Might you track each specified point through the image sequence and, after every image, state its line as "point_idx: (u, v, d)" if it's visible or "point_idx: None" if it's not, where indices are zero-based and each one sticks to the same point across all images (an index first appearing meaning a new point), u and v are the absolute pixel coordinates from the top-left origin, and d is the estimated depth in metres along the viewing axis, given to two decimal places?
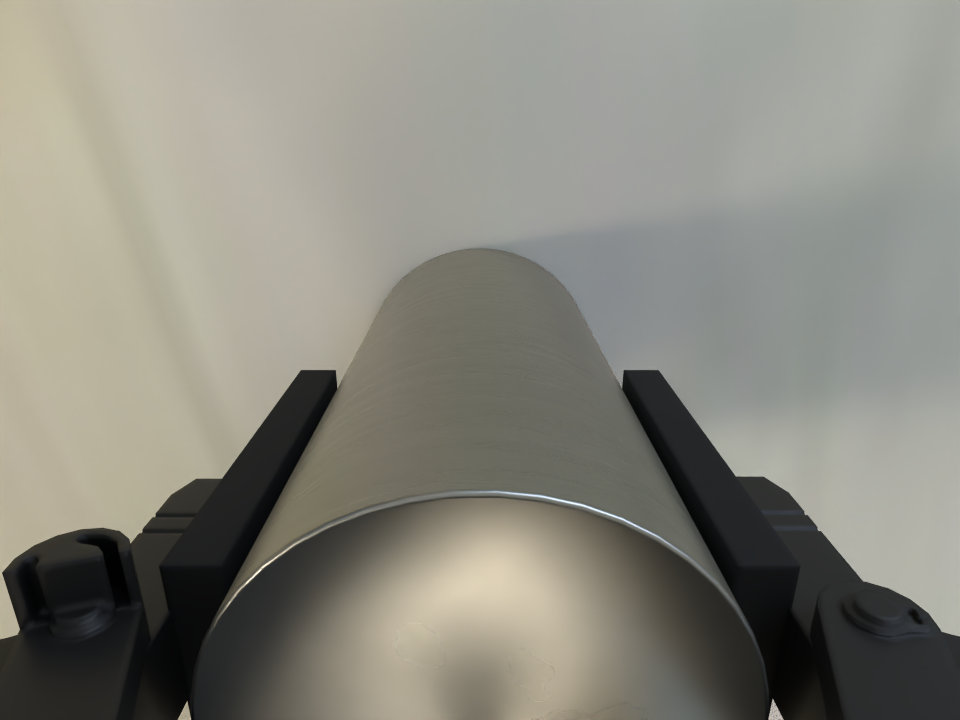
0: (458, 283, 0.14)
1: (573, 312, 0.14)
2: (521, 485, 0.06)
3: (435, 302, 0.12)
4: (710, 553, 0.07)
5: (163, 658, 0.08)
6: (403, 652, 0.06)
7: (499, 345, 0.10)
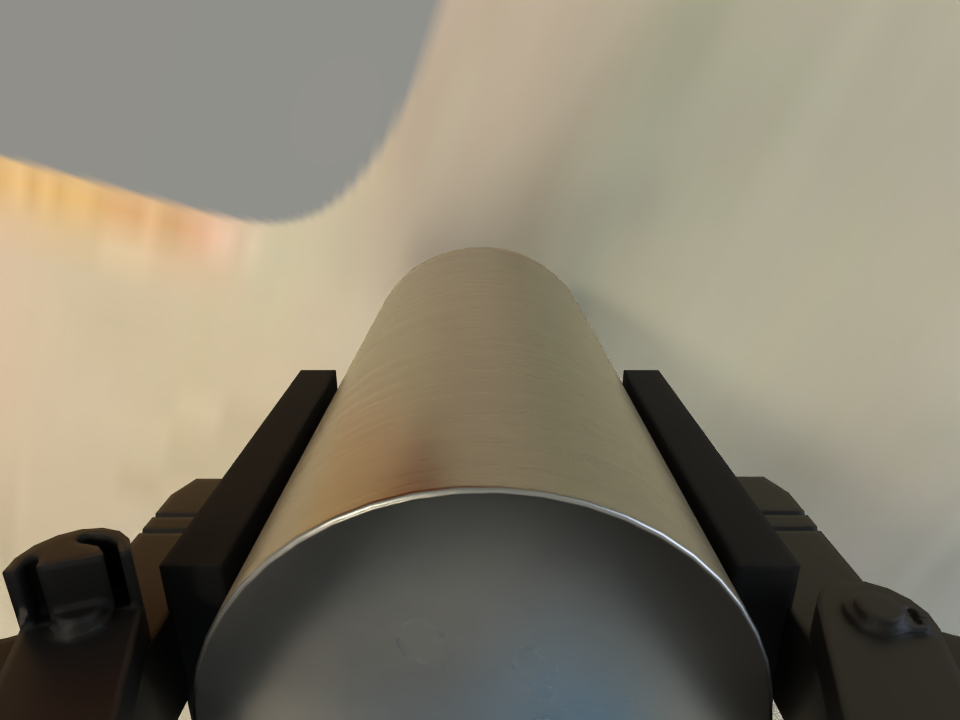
0: (460, 281, 0.14)
1: (575, 310, 0.14)
2: (525, 482, 0.06)
3: (437, 300, 0.12)
4: (713, 551, 0.07)
5: (163, 658, 0.08)
6: (405, 649, 0.06)
7: (501, 343, 0.10)
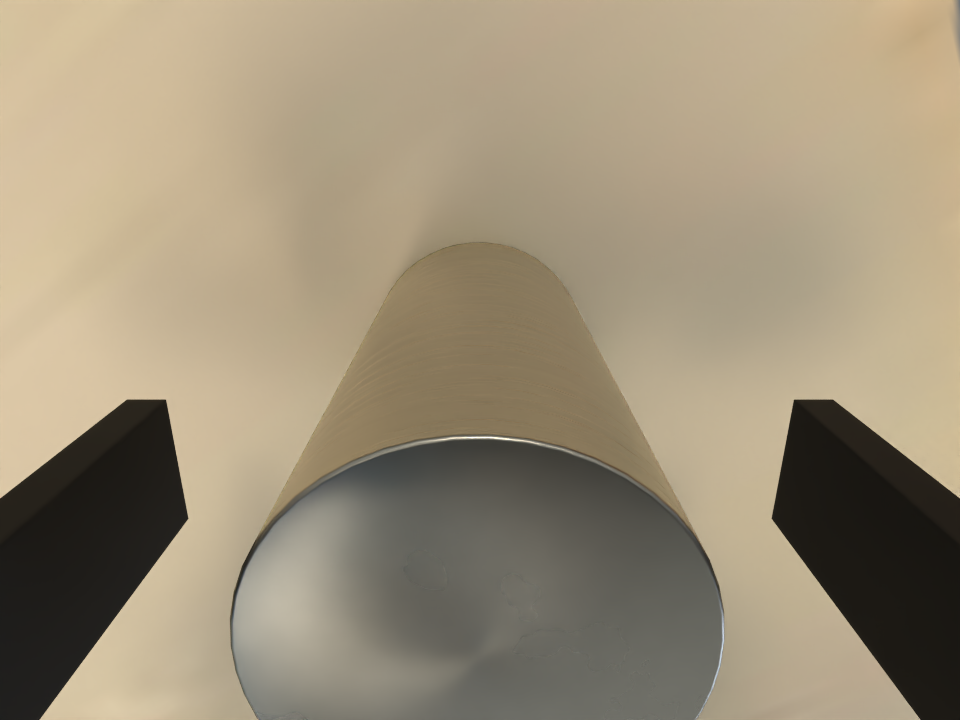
0: (459, 273, 0.15)
1: (565, 300, 0.15)
2: (512, 431, 0.07)
3: (438, 289, 0.14)
4: (677, 499, 0.09)
5: None
6: (412, 576, 0.08)
7: (495, 325, 0.11)
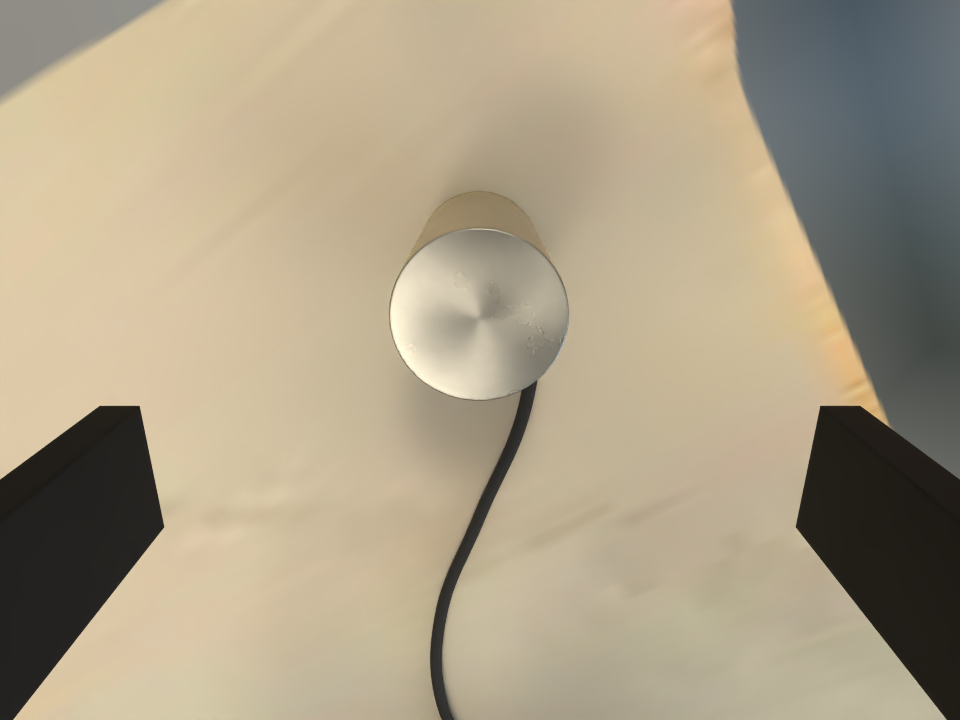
0: (469, 200, 0.29)
1: (524, 216, 0.29)
2: (490, 228, 0.21)
3: (459, 206, 0.28)
4: None
5: None
6: (456, 284, 0.22)
7: (486, 212, 0.25)
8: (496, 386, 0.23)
